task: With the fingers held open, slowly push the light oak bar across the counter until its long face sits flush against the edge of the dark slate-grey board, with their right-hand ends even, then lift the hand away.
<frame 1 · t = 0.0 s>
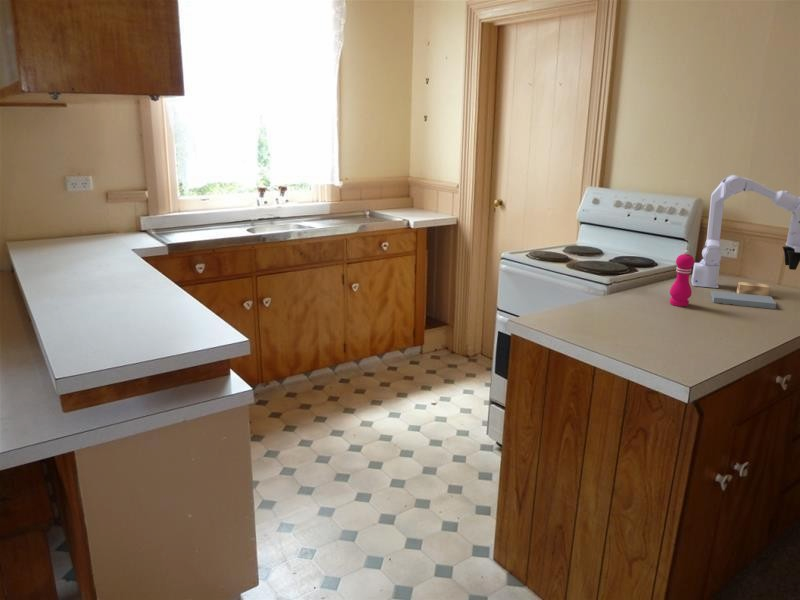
hand: (790, 267, 242), 10 cm above the table, tool pointing down, fingers open, 7 cm apart
pepper mill: (678, 304, 228), on the table
slate board: (742, 302, 231), on the table
oak bar: (751, 295, 241), on the table
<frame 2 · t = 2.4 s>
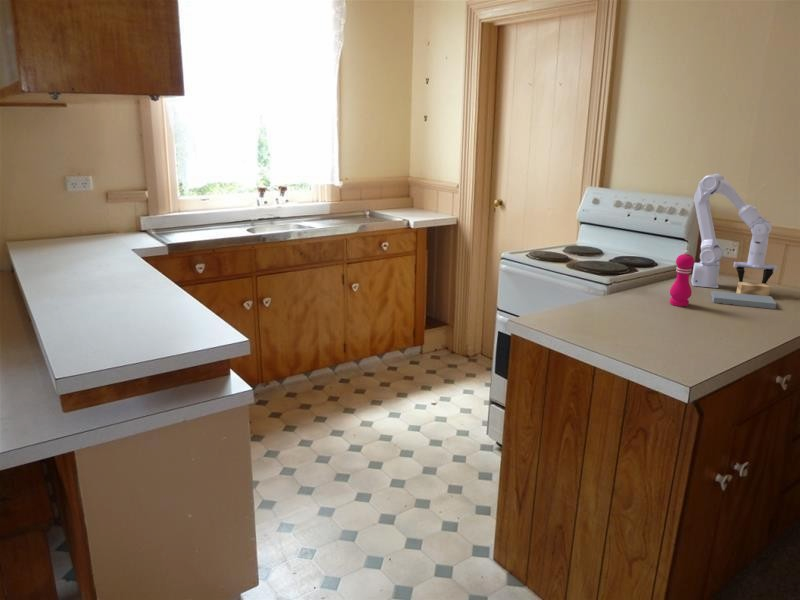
hand: (751, 287, 244), 2 cm above the table, tool pointing down, fingers open, 7 cm apart
oak bar: (752, 295, 240), on the table, touching gripper
everything else where it was.
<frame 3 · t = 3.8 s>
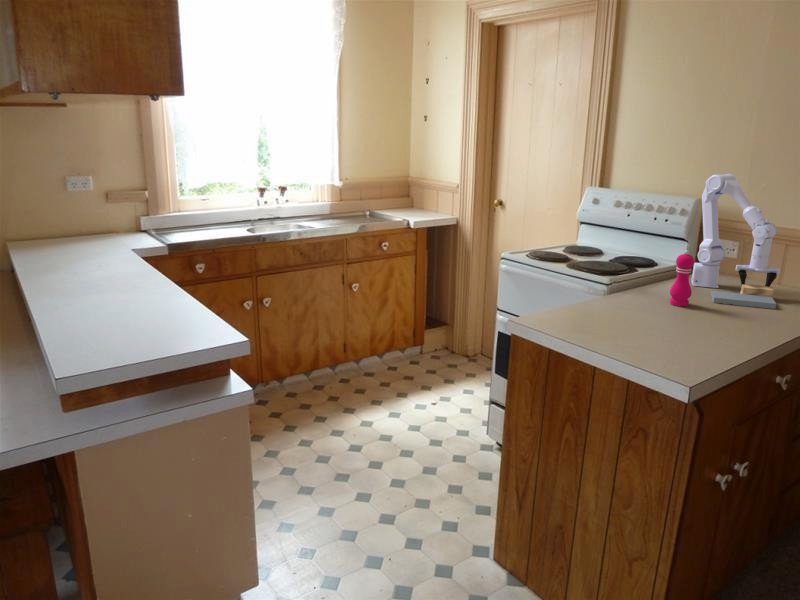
hand: (753, 290, 239), 2 cm above the table, tool pointing down
oak bar: (755, 298, 236), on the table, touching gripper, slate board
everything else where it was.
when the fingers open (2 cm above the table, at t = 4.5 s): oak bar stays where it is, on the table.
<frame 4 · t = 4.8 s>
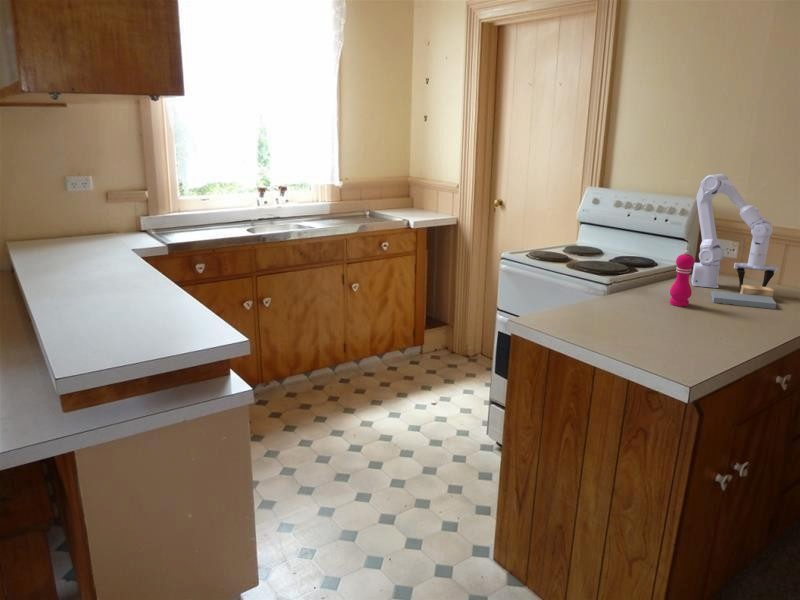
hand: (751, 288, 242), 2 cm above the table, tool pointing down, fingers open, 7 cm apart
oak bar: (755, 299, 236), on the table
everything else where it was.
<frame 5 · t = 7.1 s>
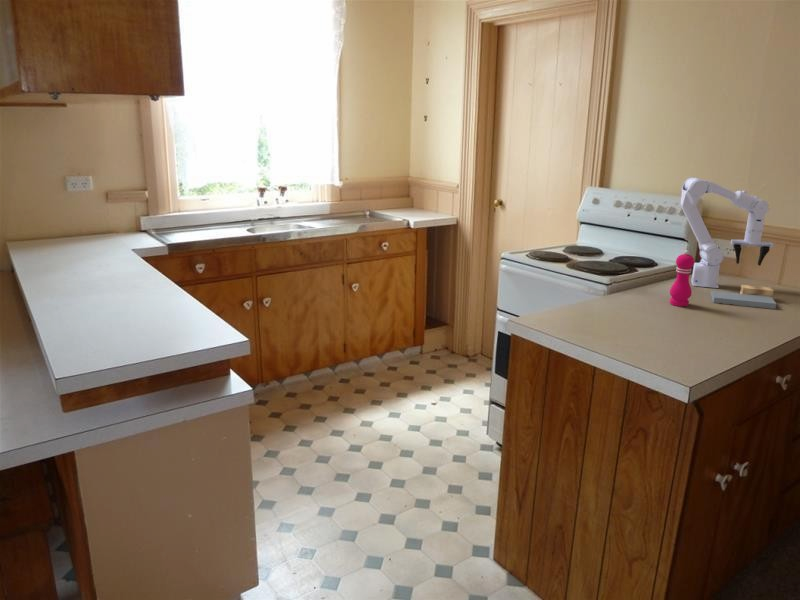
hand: (748, 264, 250), 9 cm above the table, tool pointing down, fingers open, 7 cm apart
nothing on the table moved.
at the end: oak bar 0.6 cm from the target spot on the table beside the slate board, on the table; oak bar tilted 0° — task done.
